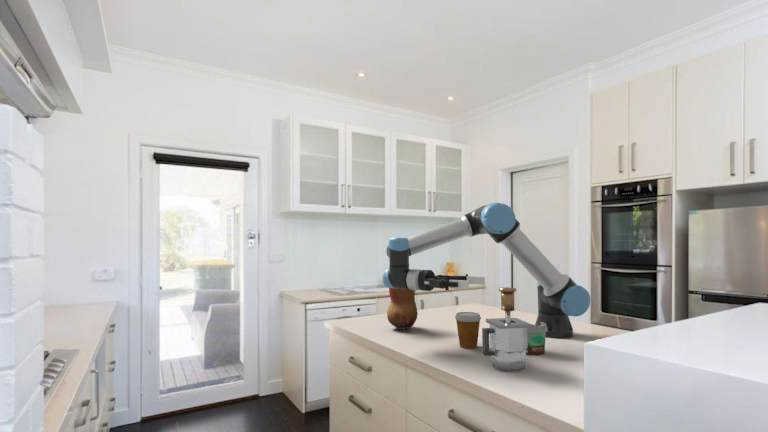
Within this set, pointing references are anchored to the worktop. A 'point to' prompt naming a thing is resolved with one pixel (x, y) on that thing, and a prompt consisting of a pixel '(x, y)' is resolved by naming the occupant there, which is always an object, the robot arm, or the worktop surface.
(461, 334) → the disposable coffee cup
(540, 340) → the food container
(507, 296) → the plunger
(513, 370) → the press carafe
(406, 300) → the butternut squash
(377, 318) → the worktop surface
